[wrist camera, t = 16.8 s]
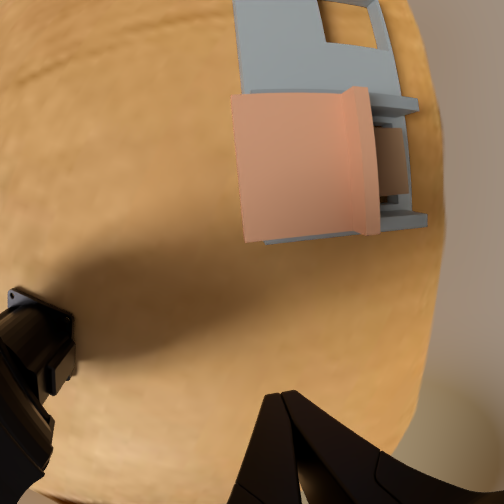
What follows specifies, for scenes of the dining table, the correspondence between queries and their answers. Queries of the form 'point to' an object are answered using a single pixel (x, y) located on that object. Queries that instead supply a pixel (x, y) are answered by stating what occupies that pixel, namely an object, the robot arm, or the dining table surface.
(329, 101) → the cover
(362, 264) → the dining table surface
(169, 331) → the dining table surface
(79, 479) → the dining table surface
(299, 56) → the puzzle board
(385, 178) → the walnut cube
